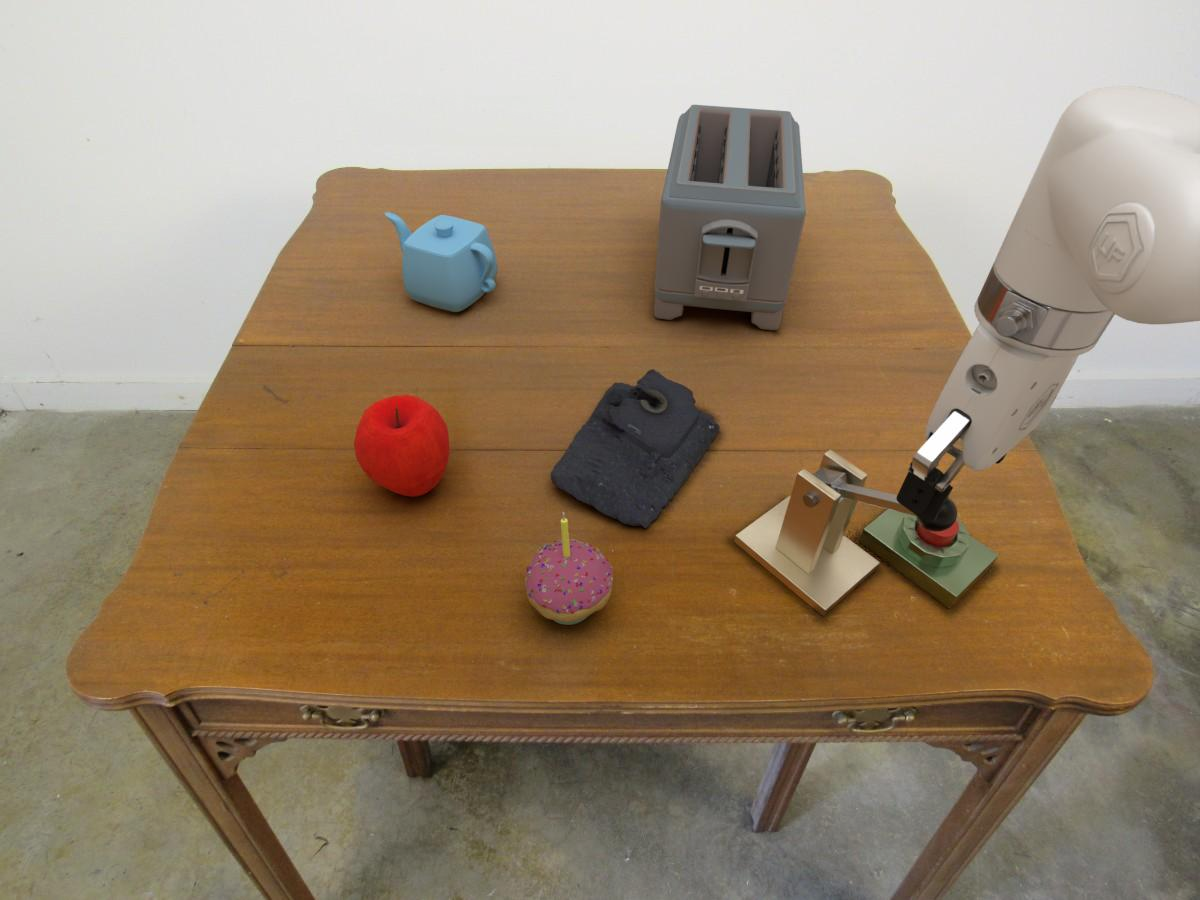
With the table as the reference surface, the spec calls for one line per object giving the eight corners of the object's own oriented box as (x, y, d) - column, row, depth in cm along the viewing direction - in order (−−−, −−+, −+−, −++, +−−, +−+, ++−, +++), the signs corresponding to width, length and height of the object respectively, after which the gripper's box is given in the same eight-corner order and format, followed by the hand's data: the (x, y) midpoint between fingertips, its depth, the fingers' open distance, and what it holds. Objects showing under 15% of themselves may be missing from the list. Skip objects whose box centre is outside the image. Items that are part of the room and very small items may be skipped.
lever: (966, 523, 62) (962, 490, 61) (945, 543, 60) (941, 509, 59) (829, 489, 73) (823, 461, 72) (808, 505, 72) (802, 477, 70)
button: (960, 535, 76) (966, 524, 75) (940, 553, 74) (946, 542, 73) (929, 514, 78) (934, 503, 77) (909, 531, 76) (915, 520, 75)
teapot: (421, 257, 119) (408, 189, 111) (517, 284, 114) (512, 215, 106) (373, 296, 112) (356, 226, 103) (474, 327, 106) (465, 256, 98)
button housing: (990, 567, 78) (1006, 544, 75) (948, 609, 74) (963, 586, 71) (901, 505, 83) (912, 481, 81) (858, 541, 80) (868, 517, 77)
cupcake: (521, 578, 76) (512, 502, 67) (601, 562, 77) (602, 486, 69) (536, 651, 70) (528, 578, 62) (622, 633, 72) (626, 559, 63)
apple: (355, 511, 82) (327, 433, 73) (388, 449, 89) (366, 370, 80) (441, 524, 81) (424, 446, 72) (468, 460, 88) (454, 381, 79)
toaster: (648, 335, 105) (658, 200, 91) (670, 221, 128) (680, 99, 114) (780, 349, 103) (812, 213, 89) (778, 230, 127) (802, 107, 112)
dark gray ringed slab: (528, 486, 85) (525, 458, 81) (621, 380, 98) (622, 352, 95) (646, 541, 80) (648, 512, 76) (727, 421, 93) (732, 392, 90)
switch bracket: (877, 569, 77) (915, 488, 68) (822, 616, 73) (856, 537, 64) (788, 501, 84) (812, 419, 75) (733, 542, 80) (752, 459, 70)
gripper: (1032, 389, 41) (929, 567, 53) (1163, 280, 49) (1047, 457, 61) (915, 326, 45) (845, 505, 57) (1054, 234, 53) (966, 409, 65)
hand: (949, 480), depth 59 cm, fingers open, 9 cm apart
